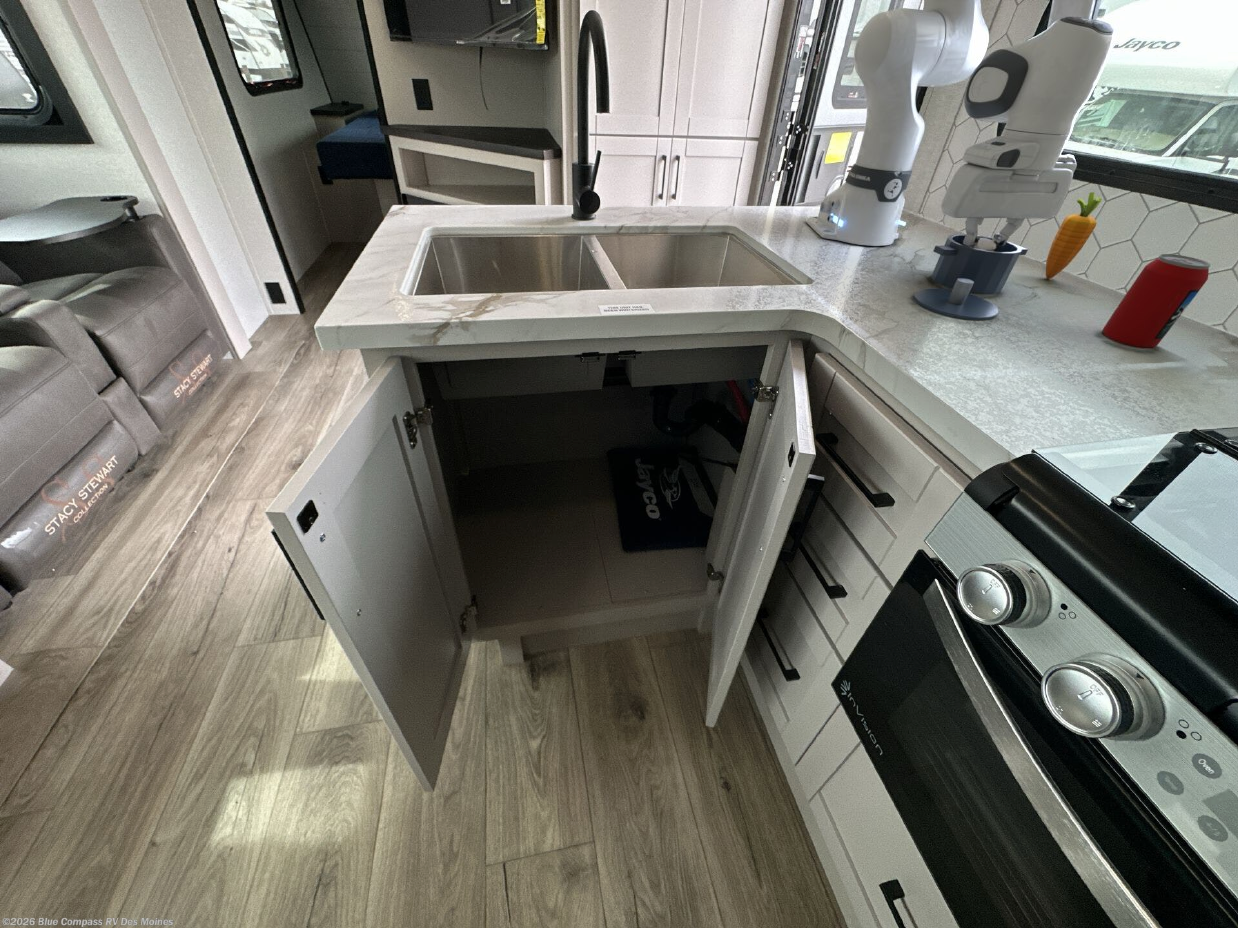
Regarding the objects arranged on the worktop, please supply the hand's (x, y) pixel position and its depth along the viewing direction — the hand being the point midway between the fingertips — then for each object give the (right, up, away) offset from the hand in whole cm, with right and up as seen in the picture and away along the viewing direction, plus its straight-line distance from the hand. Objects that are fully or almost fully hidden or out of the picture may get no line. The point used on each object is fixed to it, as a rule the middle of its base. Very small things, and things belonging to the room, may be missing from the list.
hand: (983, 245), depth 89 cm
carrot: (+20, -2, +10) cm, 22 cm away
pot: (0, -6, +4) cm, 7 cm away
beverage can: (+13, -20, -12) cm, 27 cm away
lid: (-8, -12, -5) cm, 16 cm away
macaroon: (0, -1, +1) cm, 2 cm away
